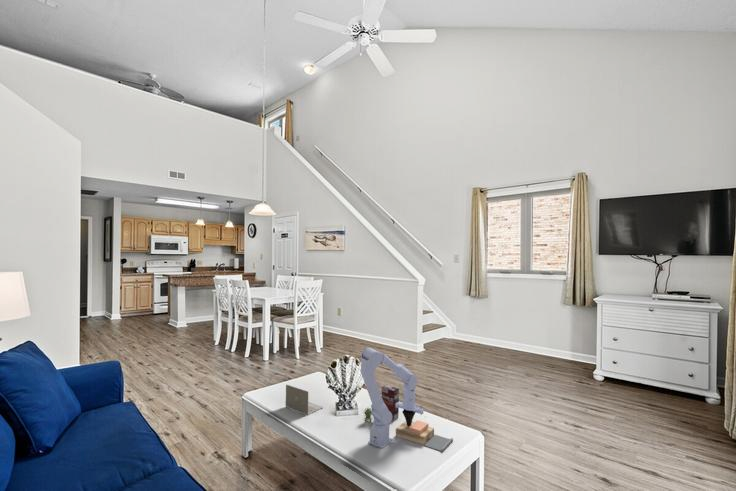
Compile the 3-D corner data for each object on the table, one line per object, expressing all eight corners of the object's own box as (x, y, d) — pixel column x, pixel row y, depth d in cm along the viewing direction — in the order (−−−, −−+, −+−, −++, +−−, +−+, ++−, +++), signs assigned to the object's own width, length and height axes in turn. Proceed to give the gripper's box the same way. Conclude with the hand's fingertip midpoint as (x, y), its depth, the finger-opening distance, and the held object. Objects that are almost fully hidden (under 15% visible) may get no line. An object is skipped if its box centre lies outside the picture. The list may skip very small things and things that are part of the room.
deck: (423, 445, 170) (423, 437, 170) (395, 435, 179) (395, 428, 179) (433, 435, 179) (434, 428, 179) (406, 427, 188) (406, 420, 188)
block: (420, 435, 172) (420, 430, 172) (408, 431, 176) (408, 427, 176) (428, 427, 180) (428, 423, 180) (417, 424, 183) (417, 420, 183)
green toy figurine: (366, 415, 201) (366, 401, 201) (384, 422, 193) (384, 407, 193) (351, 423, 191) (352, 408, 192) (369, 430, 184) (369, 415, 184)
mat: (442, 452, 164) (442, 449, 164) (424, 445, 170) (424, 443, 170) (452, 441, 174) (453, 438, 174) (434, 435, 179) (435, 432, 179)
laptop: (323, 408, 210) (323, 385, 210) (307, 416, 200) (308, 391, 200) (301, 400, 221) (301, 378, 221) (285, 407, 210) (285, 384, 211)
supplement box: (380, 416, 200) (381, 386, 200) (386, 413, 203) (386, 384, 204) (393, 421, 194) (394, 390, 194) (399, 418, 198) (399, 388, 198)
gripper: (426, 398, 180) (426, 426, 180) (400, 391, 189) (400, 418, 188) (419, 402, 175) (419, 431, 174) (393, 395, 183) (393, 423, 182)
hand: (409, 425), depth 181 cm, fingers closed
